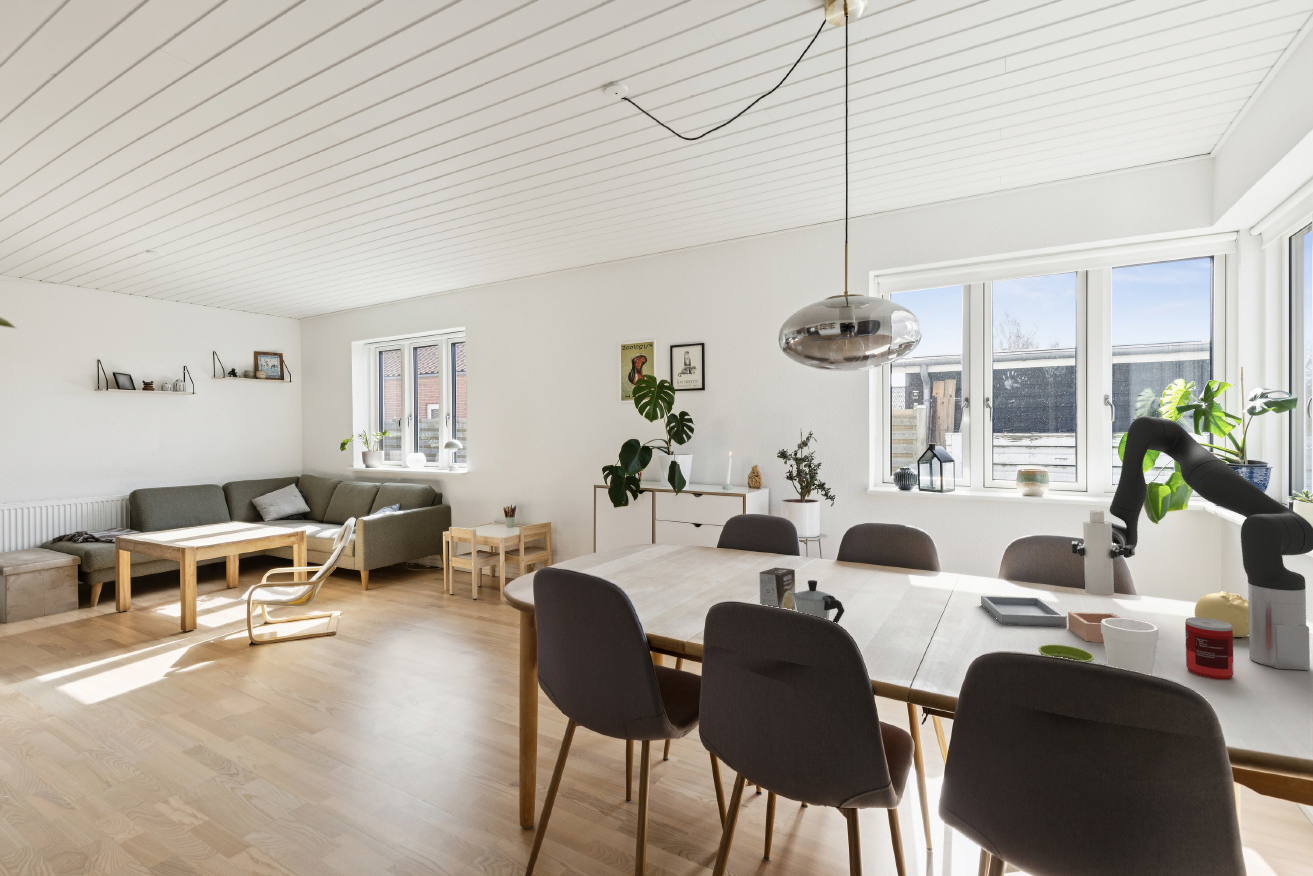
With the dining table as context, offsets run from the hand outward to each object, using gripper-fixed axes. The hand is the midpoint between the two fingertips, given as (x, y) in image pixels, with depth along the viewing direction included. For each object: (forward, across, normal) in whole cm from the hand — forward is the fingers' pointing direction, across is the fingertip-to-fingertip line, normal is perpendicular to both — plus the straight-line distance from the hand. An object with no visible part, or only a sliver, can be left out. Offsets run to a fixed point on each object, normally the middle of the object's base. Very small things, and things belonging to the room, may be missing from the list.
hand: (1096, 553), depth 160 cm
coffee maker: (+54, -49, +22) cm, 77 cm away
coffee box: (+42, -68, +21) cm, 83 cm away
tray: (-11, -20, +21) cm, 31 cm away
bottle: (-2, 0, +10) cm, 11 cm away
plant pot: (+44, 0, +22) cm, 50 cm away
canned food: (+13, +21, +22) cm, 33 cm away
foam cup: (+32, +9, +22) cm, 40 cm away
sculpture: (-23, +24, +22) cm, 40 cm away
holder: (-3, 0, +22) cm, 22 cm away
